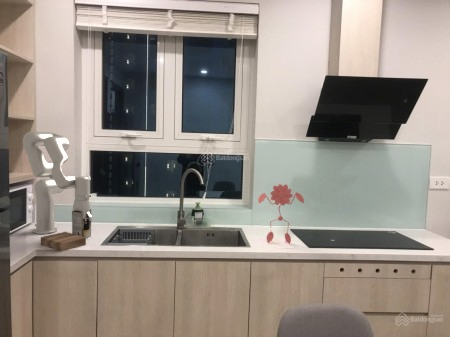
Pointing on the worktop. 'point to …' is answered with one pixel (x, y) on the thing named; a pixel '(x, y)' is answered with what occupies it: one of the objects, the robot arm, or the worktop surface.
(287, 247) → the worktop surface
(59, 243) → the board
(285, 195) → the pink flower figurine
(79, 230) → the coffee box
